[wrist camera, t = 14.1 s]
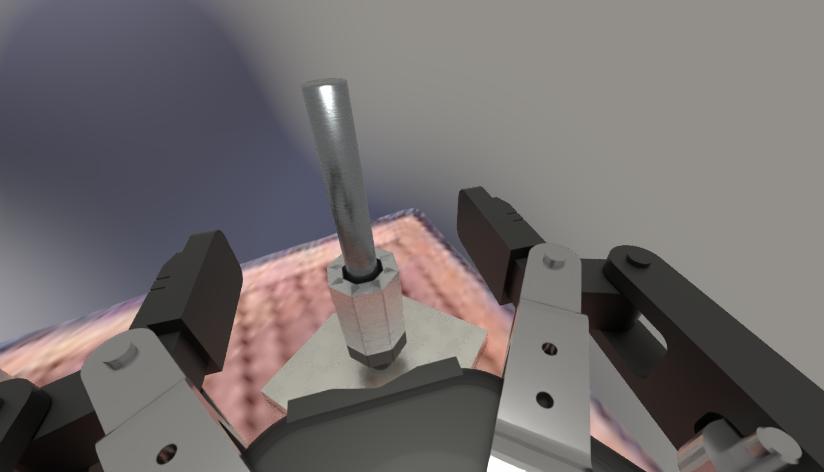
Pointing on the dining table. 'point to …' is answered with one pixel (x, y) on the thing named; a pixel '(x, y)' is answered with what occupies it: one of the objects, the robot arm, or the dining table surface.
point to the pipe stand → (360, 273)
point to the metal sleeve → (369, 305)
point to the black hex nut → (379, 354)
